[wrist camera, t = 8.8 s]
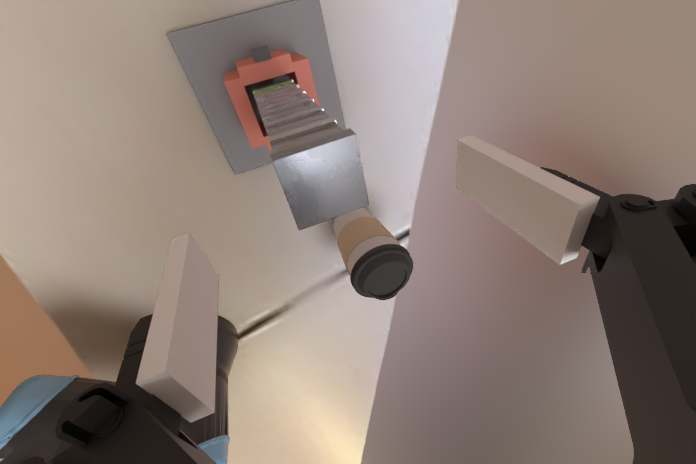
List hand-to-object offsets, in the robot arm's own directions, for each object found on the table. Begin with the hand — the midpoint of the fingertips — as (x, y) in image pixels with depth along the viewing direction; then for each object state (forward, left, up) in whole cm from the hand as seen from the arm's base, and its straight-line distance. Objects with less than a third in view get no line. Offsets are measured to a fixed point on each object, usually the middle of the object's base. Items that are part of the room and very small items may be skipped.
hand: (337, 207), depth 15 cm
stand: (0, 0, -29) cm, 29 cm away
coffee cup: (+6, -23, -29) cm, 37 cm away
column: (0, 0, -21) cm, 21 cm away
